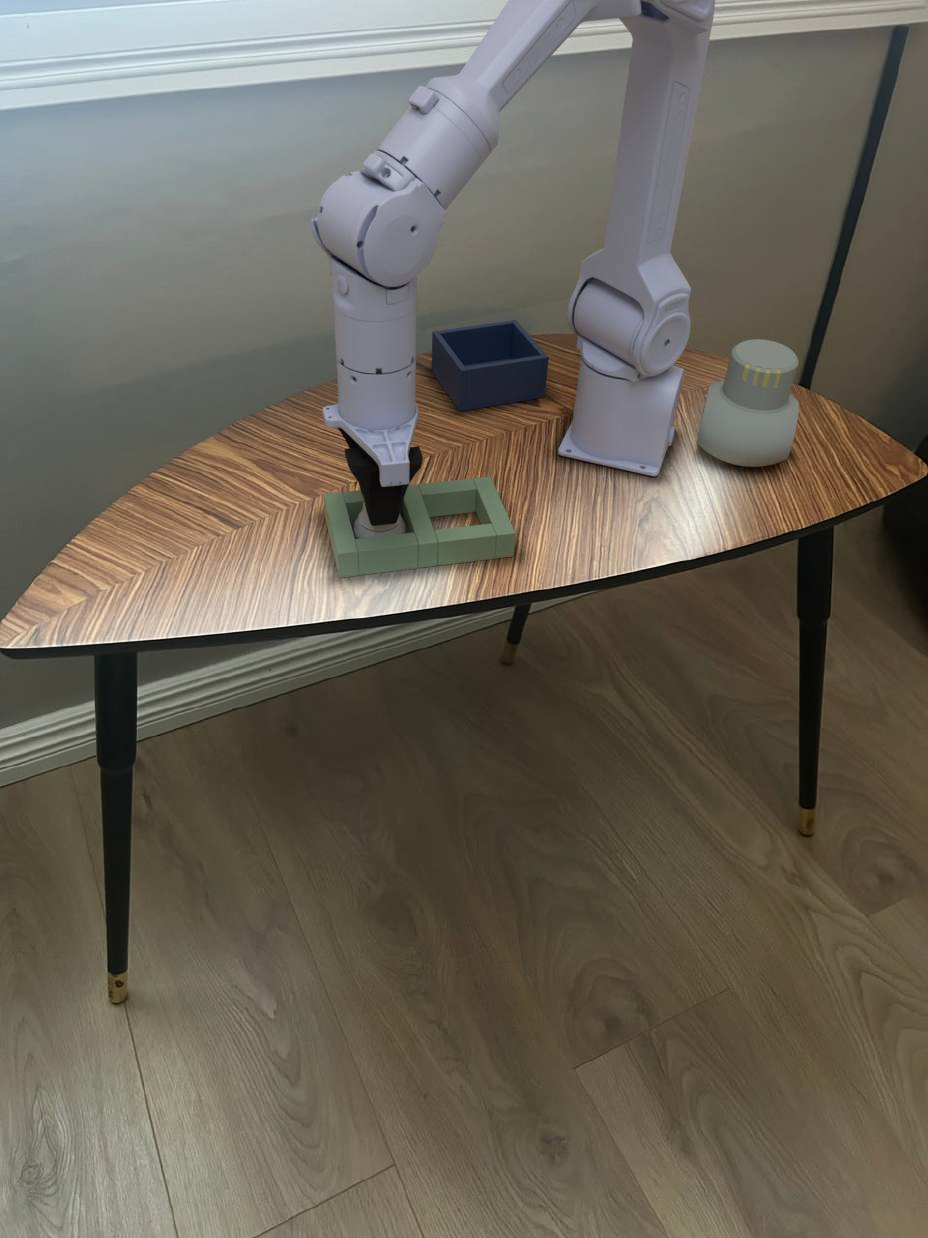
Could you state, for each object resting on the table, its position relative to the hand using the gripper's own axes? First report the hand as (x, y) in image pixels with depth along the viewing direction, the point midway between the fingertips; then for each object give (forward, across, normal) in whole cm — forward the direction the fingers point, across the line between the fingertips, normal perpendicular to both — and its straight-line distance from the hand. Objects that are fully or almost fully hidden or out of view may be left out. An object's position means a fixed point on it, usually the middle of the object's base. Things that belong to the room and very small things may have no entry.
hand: (379, 508), depth 81 cm
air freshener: (+4, -8, +36) cm, 37 cm away
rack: (+3, 0, +3) cm, 5 cm away
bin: (+3, -23, +15) cm, 28 cm away
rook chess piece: (+4, 0, 0) cm, 4 cm away
